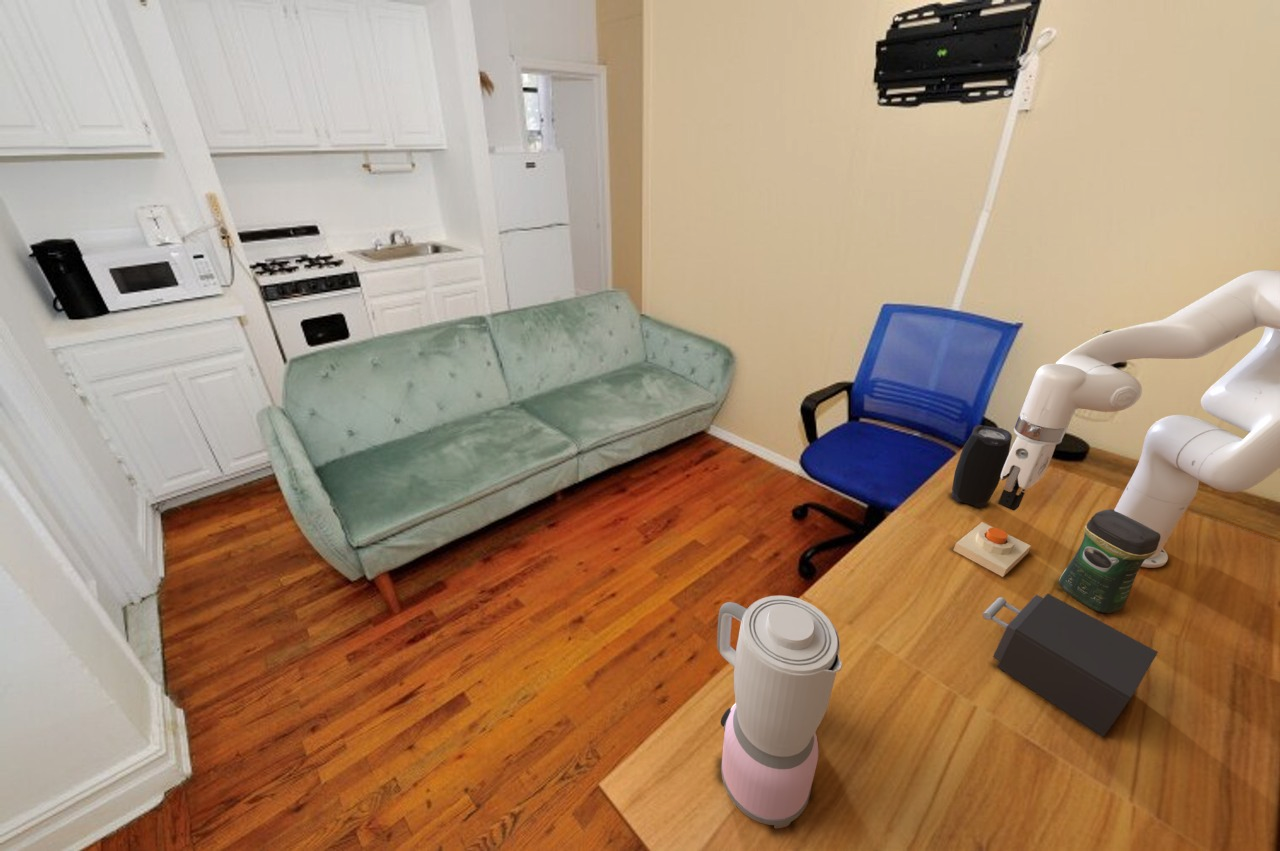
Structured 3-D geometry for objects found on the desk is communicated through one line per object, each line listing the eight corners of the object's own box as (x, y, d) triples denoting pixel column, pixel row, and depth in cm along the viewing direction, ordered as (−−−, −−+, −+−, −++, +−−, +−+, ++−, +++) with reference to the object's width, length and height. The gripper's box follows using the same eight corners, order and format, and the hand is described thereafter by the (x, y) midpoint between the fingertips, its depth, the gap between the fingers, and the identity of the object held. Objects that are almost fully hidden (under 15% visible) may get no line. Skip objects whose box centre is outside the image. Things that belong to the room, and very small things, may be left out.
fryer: (997, 667, 86) (1015, 628, 81) (1028, 630, 92) (1047, 593, 88) (1103, 737, 75) (1131, 697, 71) (1130, 691, 82) (1158, 651, 77)
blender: (826, 780, 71) (870, 622, 56) (779, 854, 64) (816, 696, 48) (734, 704, 81) (751, 553, 66) (685, 761, 74) (691, 605, 58)
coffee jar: (1129, 608, 96) (1176, 533, 88) (1100, 619, 94) (1145, 543, 85) (1076, 573, 104) (1114, 501, 96) (1049, 583, 102) (1085, 510, 94)
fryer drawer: (967, 640, 90) (980, 609, 86) (996, 610, 96) (1009, 579, 92) (1088, 719, 77) (1109, 687, 73) (1113, 679, 83) (1135, 647, 79)
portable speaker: (940, 490, 131) (961, 424, 122) (975, 488, 131) (998, 422, 122) (961, 511, 123) (986, 441, 114) (998, 508, 124) (1025, 439, 115)
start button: (990, 531, 111) (992, 525, 110) (1008, 540, 109) (1011, 534, 108) (982, 538, 109) (985, 531, 108) (1000, 547, 107) (1003, 540, 106)
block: (979, 529, 117) (984, 515, 115) (1027, 553, 110) (1034, 539, 108) (953, 550, 111) (958, 536, 109) (1002, 577, 104) (1009, 562, 102)
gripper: (1046, 448, 89) (1012, 529, 98) (1078, 425, 97) (1043, 502, 106) (1000, 432, 95) (971, 510, 103) (1033, 411, 102) (1003, 485, 111)
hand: (1007, 505), depth 104 cm, fingers closed
